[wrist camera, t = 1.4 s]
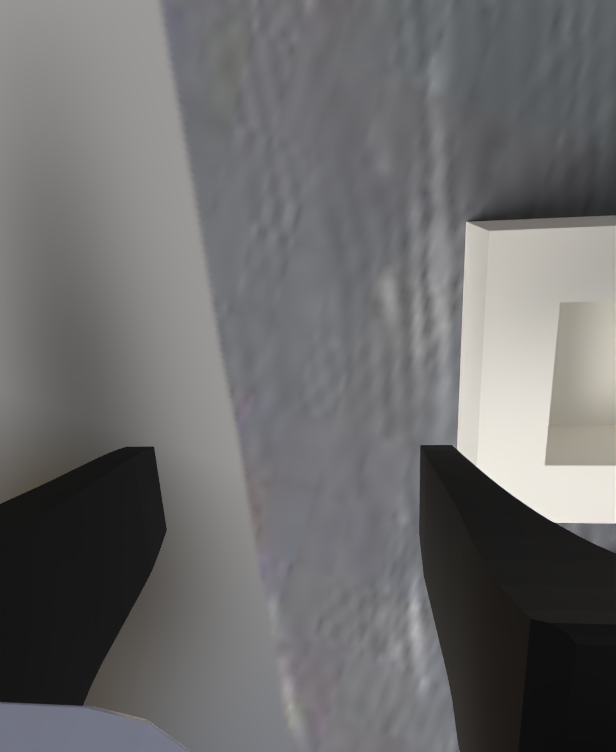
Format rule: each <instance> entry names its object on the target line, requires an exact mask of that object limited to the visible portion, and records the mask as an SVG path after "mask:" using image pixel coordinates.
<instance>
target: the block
mask: <svg viewBox="0 0 616 752" xmlns="http://www.w3.org/2000/svg"><path fill="white" fill-rule="evenodd" d="M457 450H458V451H459V452H460V453H461V454H463V455H464V456H465V457H466V458H467V459H468V460H469V461H471V462H472V463H473V464H474V465H475V466H476V467H477V468H479V469H480V470H481V471H482V472H483V473H485V474H486V475H487V476H488V477H489V478H491V479H492V480H493V481H494V482H496V483H497V484H498V485H499V486H501V487H502V488H503V489H505V490H506V491H507V492H509V493H510V494H511V495H513V496H514V497H515V498H517V499H518V500H520V501H521V502H523V503H524V504H526V505H527V506H529V507H530V508H531V509H533V510H534V511H536V512H537V513H539V514H541V515H542V516H544V517H545V518H547V519H549V520H550V521H552V522H554V523H616V215H611V216H588V217H564V218H541V219H518V220H495V221H472V222H466V240H465V265H464V291H463V316H462V341H461V366H460V392H459V417H458V442H457Z"/></svg>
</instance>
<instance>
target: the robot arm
mask: <svg viewBox="0 0 616 752" xmlns="http://www.w3.org/2000/svg"><path fill="white" fill-rule="evenodd" d="M166 530H167V529H166V523H165V516H164V510H163V504H162V497H161V490H160V483H159V477H158V470H157V464H156V457H155V452H154V447H125V448H121V449H118V450H116V451H113V452H110V453H108V454H106V455H104V456H101V457H99V458H97V459H95V460H93V461H91V462H88V463H87V464H84V465H83V466H80V467H78V468H76V469H74V470H72V471H70V472H68V473H66V474H64V475H62V476H60V477H58V478H56V479H54V480H52V481H50V482H47V483H45V484H43V485H41V486H39V487H37V488H35V489H32V490H30V491H28V492H26V493H23V494H21V495H19V496H17V497H15V498H12V499H10V500H8V501H6V502H4V503H1V504H0V752H191V751H190V750H188V749H187V748H185V747H184V746H183V745H182V744H180V743H179V742H177V741H176V740H174V739H173V738H172V737H170V736H169V735H168V734H166V733H165V732H164V731H162V730H161V729H159V728H158V727H156V726H155V725H154V724H152V723H151V722H150V721H148V720H146V719H142V718H138V717H134V716H130V715H126V714H122V713H118V712H114V711H110V710H106V709H102V708H97V707H94V706H83V704H84V701H85V699H86V697H87V694H88V692H89V689H90V687H91V685H92V683H93V681H94V679H95V677H96V675H97V672H98V670H99V668H100V666H101V664H102V662H103V660H104V659H105V657H106V655H107V653H108V651H109V649H110V648H111V646H112V644H113V642H114V640H115V638H116V637H117V635H118V633H119V631H120V629H121V627H122V626H123V624H124V622H125V620H126V618H127V617H128V615H129V613H130V611H131V609H132V607H133V606H134V604H135V602H136V600H137V598H138V596H139V594H140V593H141V591H142V589H143V587H144V585H145V583H146V581H147V579H148V577H149V575H150V573H151V571H152V569H153V567H154V564H155V561H156V559H157V556H158V554H159V551H160V548H161V545H162V542H163V539H164V536H165V533H166ZM419 535H420V545H421V554H422V563H423V572H424V578H425V583H426V587H427V591H428V595H429V600H430V604H431V608H432V612H433V617H434V621H435V625H436V629H437V633H438V637H439V642H440V646H441V650H442V654H443V658H444V662H445V667H446V671H447V675H448V680H449V685H450V690H451V696H452V701H453V708H454V716H455V723H456V731H457V738H458V745H459V752H616V554H615V553H613V552H611V551H609V550H606V549H604V548H602V547H600V546H597V545H595V544H593V543H591V542H589V541H587V540H585V539H583V538H581V537H579V536H577V535H575V534H574V533H572V532H570V531H568V530H566V529H565V528H563V527H561V526H559V525H558V524H556V523H554V522H552V521H550V520H549V519H547V518H545V517H544V516H542V515H541V514H539V513H537V512H536V511H534V510H533V509H531V508H530V507H529V506H527V505H526V504H524V503H523V502H521V501H520V500H518V499H517V498H515V497H514V496H513V495H511V494H510V493H509V492H507V491H506V490H505V489H503V488H502V487H501V486H499V485H498V484H497V483H496V482H494V481H493V480H492V479H491V478H489V477H488V476H487V475H486V474H485V473H483V472H482V471H481V470H480V469H479V468H477V467H476V466H475V465H474V464H473V463H472V462H471V461H469V460H468V459H467V458H466V457H465V456H464V455H463V454H461V453H460V452H459V451H458V450H457V449H456V448H454V447H453V446H452V445H420V518H419Z"/></svg>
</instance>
